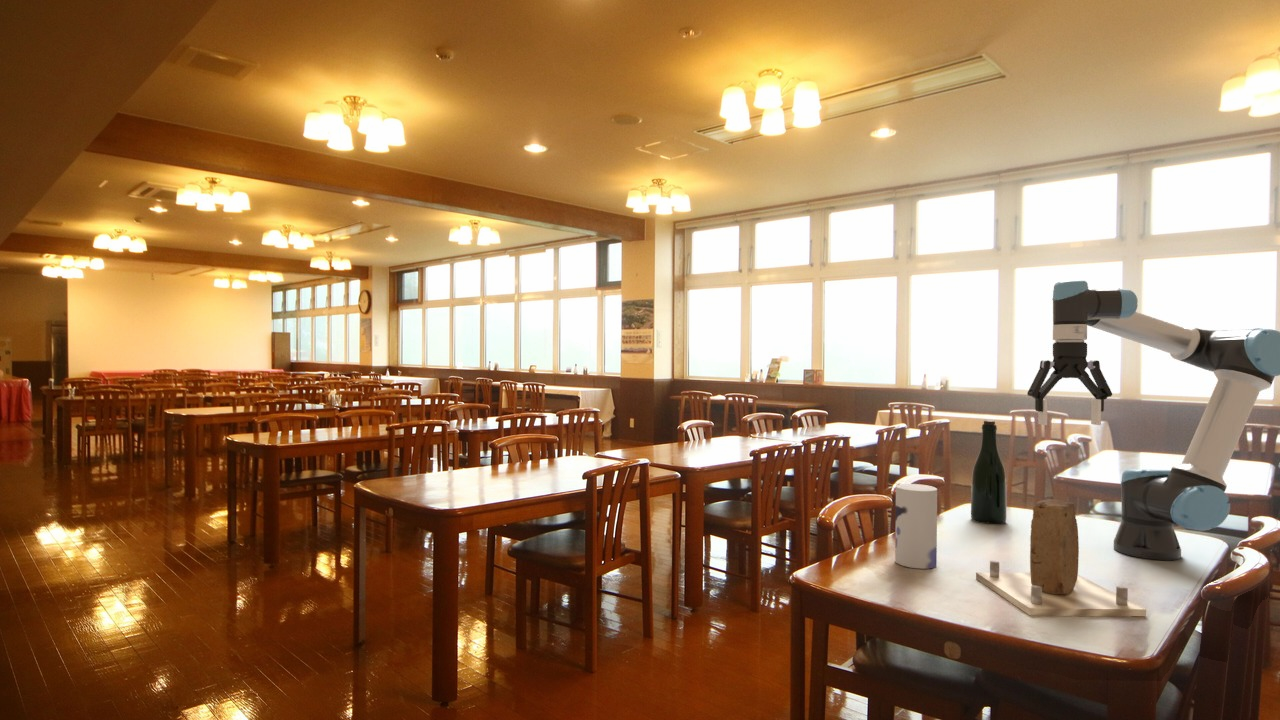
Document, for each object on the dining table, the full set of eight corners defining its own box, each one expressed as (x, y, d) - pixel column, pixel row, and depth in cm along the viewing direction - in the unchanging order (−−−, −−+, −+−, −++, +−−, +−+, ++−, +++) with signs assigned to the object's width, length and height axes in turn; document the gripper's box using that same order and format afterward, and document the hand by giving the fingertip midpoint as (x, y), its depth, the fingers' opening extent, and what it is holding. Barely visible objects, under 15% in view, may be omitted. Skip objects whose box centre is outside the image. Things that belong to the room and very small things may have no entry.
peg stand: (1075, 579, 169) (1075, 558, 169) (1145, 616, 145) (1146, 592, 145) (975, 578, 170) (976, 558, 170) (1029, 615, 146) (1030, 591, 146)
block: (1062, 599, 151) (1063, 506, 151) (1026, 589, 157) (1027, 500, 157) (1083, 589, 158) (1084, 500, 158) (1047, 580, 164) (1048, 495, 164)
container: (888, 558, 186) (889, 483, 186) (924, 557, 187) (925, 483, 187) (906, 569, 176) (906, 490, 176) (944, 569, 177) (944, 490, 177)
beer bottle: (1000, 518, 234) (1001, 419, 233) (1011, 525, 223) (1012, 422, 223) (967, 516, 235) (967, 418, 235) (975, 524, 225) (976, 421, 225)
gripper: (1028, 341, 175) (1028, 425, 175) (1129, 341, 175) (1128, 426, 175) (1013, 341, 183) (1012, 423, 183) (1109, 341, 182) (1108, 423, 183)
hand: (1069, 424), depth 179 cm, fingers open, 13 cm apart
